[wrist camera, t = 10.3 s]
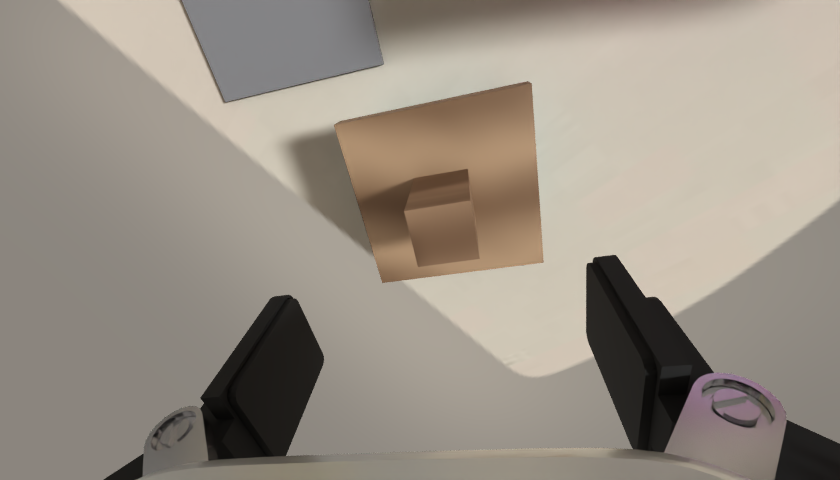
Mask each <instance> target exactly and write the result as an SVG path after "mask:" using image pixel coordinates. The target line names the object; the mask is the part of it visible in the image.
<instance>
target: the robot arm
mask: <svg viewBox="0 0 840 480" xmlns="http://www.w3.org/2000/svg"><path fill="white" fill-rule="evenodd" d="M586 333H587V339H588V342H589V345H590V347H591V350H592V352H593V354H594V357H595V359H596V362H597V364H598V367H599V369H600V371H601V374H602V376H603V378H604V381H605V383H606V386H607V388H608V391H609V393H610V396H611V398H612V400H613V403H614V405H615V408H616V410H617V413H618V415H619V417H620V420H621V422H622V425H623V427H624V429H625V432H626V434H627V437H628V439H629V441H630V444H631V446H632V448H633V449H614V448H547V449H546V448H540V449H539V448H536V449H498V450H497V449H496V450H458V451H424V452H423V451H422V452H392V453H391V452H390V453H361V454H331V455H304V456H286V454H287V452H288V449H289V446H290V444H291V442H292V439H293V437H294V434H295V432H296V430H297V427H298V425H299V422H300V419H301V417H302V415H303V413H304V410H305V408H306V405H307V403H308V400H309V398H310V395H311V393H312V390H313V388H314V386H315V383H316V381H317V378H318V376H319V373H320V371H321V369H322V366H323V362H324V356H323V353H322V351H321V349H320V347H319V345H318V343H317V340H316V338H315V336H314V334H313V332H312V330H311V328H310V326H309V323H308V321H307V319H306V317H305V315H304V313H303V311H302V309H301V307H300V304H299V302H298V301H297V300H296V299H293V297H292V296H290V295H284V296H275V297H272V298H271V299H270V300H269V302H268V303H267V304H266V306H265V307H264V309H263V310H262V312H261V313H260V314H259V316H258V317H257V319H256V320H255V321H254V323H253V324H252V326H251V327H250V328H249V330H248V331H247V333H246V334H245V336H244V337H243V338H242V340H241V341H240V343H239V344H238V345H237V347H236V348H235V350H234V351H233V353H232V354H231V355H230V357H229V358H228V360H227V361H226V362H225V364H224V365H223V367H222V368H221V370H220V371H219V372H218V374H217V375H216V377H215V378H214V379H213V381H212V382H211V384H210V385H209V386H208V388H207V389H206V391H205V392H204V394H203V395H202V396H201V400H202V401H203V402H204V404H203V406H202V407H201V408H198V407H196V406H188V407H184V408H181V409H179V410H177V411H174V412H173V413H171V414H170V415H168V416H167V417H165V418H164V419H163V420H162V421H161V422H159V423H158V424H157V425H156V426H155V428H154V429H153V430H152V431H151V432H150V434H149V436H148V438H147V439H146V442H145V446H144V454H142V455H141V456H139V457H138V458H136V459H134V460H133V461H131V462H130V463H128V464H127V465H125V466H124V467H122V468H121V469H119V470H118V471H116V472H115V473H113V474H112V475H110V476H108V477H107V478H106V479H104V480H840V444H839V443H837V442H835V441H832V440H830V439H828V438H826V437H823V436H821V435H819V434H817V433H815V432H812V431H810V430H808V429H806V428H803V427H801V426H799V425H797V424H794V423H792V422H790V421H788V420H786V412H785V410H784V408H783V406H782V404H781V403H780V401H779V400H778V399H777V398H776V397H775V396H774V395H773V394H772V393H771V392H769V391H768V390H766V389H765V388H763V387H762V386H761V385H759V384H757V383H755V382H753V381H751V380H748V379H746V378H744V377H740V376H737V375H733V374H726V373H714V372H713V371H712V369H711V368H710V367H709V365H708V364H707V363H706V361H705V360H704V359H703V357H702V356H701V355H700V353H699V352H698V351H697V349H696V348H695V347H694V345H693V344H692V343H691V341H690V340H689V339H688V337H687V336H686V334H685V333H684V332H683V330H682V329H681V328H680V326H679V325H678V324H677V322H676V321H675V320H674V318H673V317H672V316H671V314H670V313H669V312H668V310H667V309H666V308H665V306H664V305H663V303H662V302H661V301H660V300H659V299H658V298H656V297H648V298H646V297H645V296H644V295H643V293H642V292H641V290H640V289H639V287H638V286H637V285H636V283H635V282H634V280H633V279H632V277H631V276H630V274H629V273H628V272H627V270H626V269H625V267H624V266H623V264H622V263H621V262H620V260H619V259H618V257H617V256H616V255H610V256H602V257H595V258H594V259H593V263H588V264H587V268H586Z"/></svg>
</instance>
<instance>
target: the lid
mask: <svg viewBox="0 0 840 480" xmlns="http://www.w3.org/2000/svg"><path fill="white" fill-rule="evenodd" d="M334 127H335V130H336V133H337V137H338V140H339V143H340V146H341V150H342V153H343V156H344V159H345V163H346V166H347V169H348V172H349V176H350V179H351V182H352V185H353V189H354V192H355V195H356V198H357V202H358V205H359V208H360V211H361V215H362V218H363V221H364V224H365V228H366V231H367V234H368V237H369V241H370V244H371V247H372V250H373V254H374V257H375V260H376V264H377V267H378V270H379V273H380V277H381V280H382V283H385V282H393V281H401V280H409V279H417V278H425V277H432V276H440V275H448V274H456V273H464V272H472V271H480V270H488V269H496V268H503V267H511V266H519V265H527V264H535V263H543V247H542V232H541V218H540V203H539V188H538V173H537V158H536V143H535V128H534V113H533V98H532V83H530V82H528V81H527V82H523V83H518V84H513V85H508V86H504V87H499V88H494V89H490V90H485V91H480V92H476V93H471V94H466V95H461V96H457V97H452V98H447V99H443V100H438V101H433V102H429V103H424V104H419V105H414V106H410V107H405V108H400V109H396V110H391V111H386V112H381V113H377V114H372V115H367V116H363V117H358V118H353V119H349V120H344V121H340V122H338V123H337V124H335V125H334Z"/></svg>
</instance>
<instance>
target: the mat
mask: <svg viewBox="0 0 840 480" xmlns="http://www.w3.org/2000/svg"><path fill="white" fill-rule="evenodd" d="M182 2H183V5H184V7H185V9H186V12H187V14H188V16H189V19H190V21H191V23H192V26H193V28H194V30H195V33H196V35H197V37H198V40H199V42H200V44H201V47H202V49H203V51H204V54H205V56H206V58H207V61H208V63H209V65H210V67H211V70H212V72H213V74H214V77H215V79H216V81H217V84H218V86H219V88H220V91H221V93H222V95H223V98H224V100H225V102H228V101H232V100H236V99H240V98H244V97H249V96H253V95H257V94H261V93H265V92H269V91H274V90H278V89H282V88H286V87H290V86H294V85H299V84H303V83H307V82H311V81H315V80H319V79H324V78H328V77H332V76H336V75H340V74H344V73H348V72H353V71H357V70H361V69H365V68H369V67H373V66H378V65H382V64H384V63H383V59H382V54H381V50H380V46H379V41H378V37H377V33H376V29H375V24H374V20H373V16H372V11H371V7H370V3H369V0H182Z"/></svg>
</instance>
